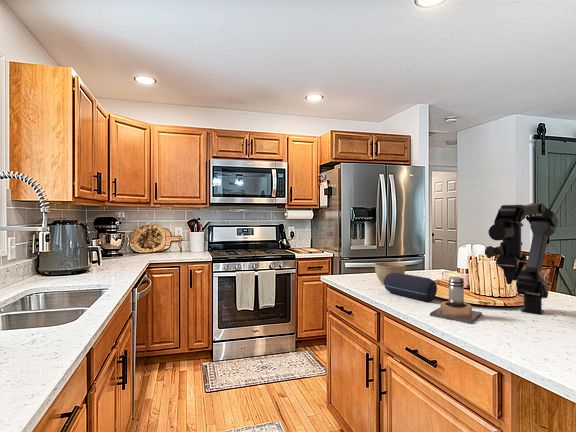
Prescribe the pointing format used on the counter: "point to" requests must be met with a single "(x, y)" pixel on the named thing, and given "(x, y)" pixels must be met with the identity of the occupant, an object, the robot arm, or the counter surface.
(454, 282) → the steel piston
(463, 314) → the piston socket base
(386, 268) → the planter bowl
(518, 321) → the counter surface
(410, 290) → the portable speaker
